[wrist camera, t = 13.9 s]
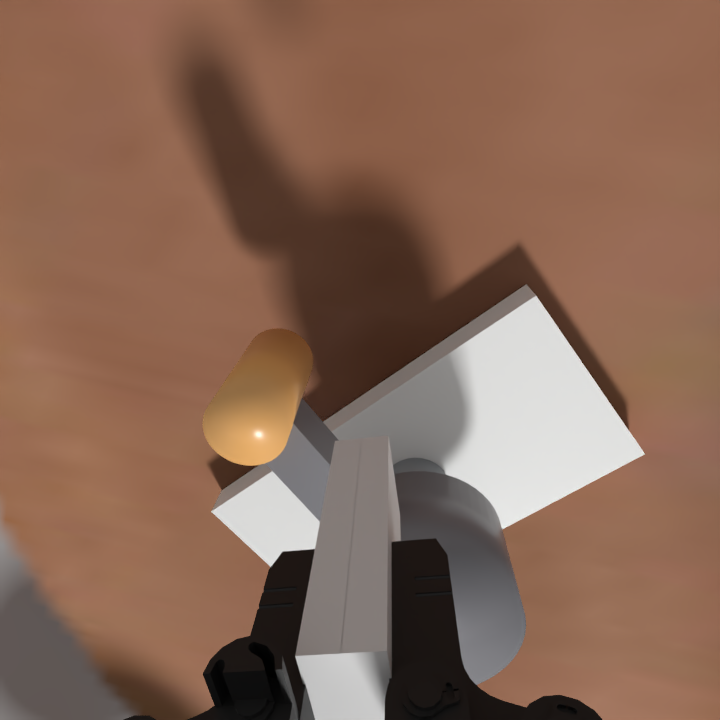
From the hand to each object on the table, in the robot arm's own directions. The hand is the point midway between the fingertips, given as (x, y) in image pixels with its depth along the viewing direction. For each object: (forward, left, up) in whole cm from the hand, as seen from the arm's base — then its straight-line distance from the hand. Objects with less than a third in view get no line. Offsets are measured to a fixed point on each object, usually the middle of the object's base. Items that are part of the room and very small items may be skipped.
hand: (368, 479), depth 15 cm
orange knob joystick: (-4, -4, -9) cm, 11 cm away
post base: (-4, -9, -14) cm, 17 cm away
